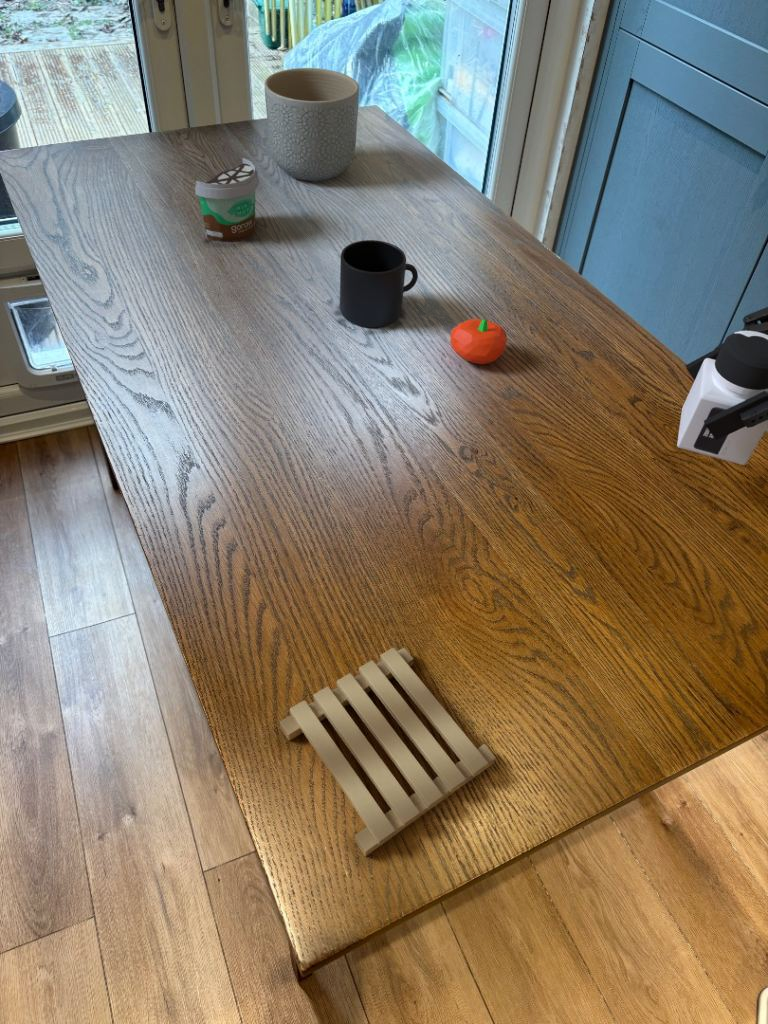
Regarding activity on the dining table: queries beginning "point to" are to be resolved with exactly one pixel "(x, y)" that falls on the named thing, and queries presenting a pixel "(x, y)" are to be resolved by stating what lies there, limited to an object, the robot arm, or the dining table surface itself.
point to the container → (726, 397)
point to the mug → (373, 282)
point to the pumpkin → (478, 340)
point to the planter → (312, 121)
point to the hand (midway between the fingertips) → (700, 401)
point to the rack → (387, 745)
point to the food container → (229, 203)
